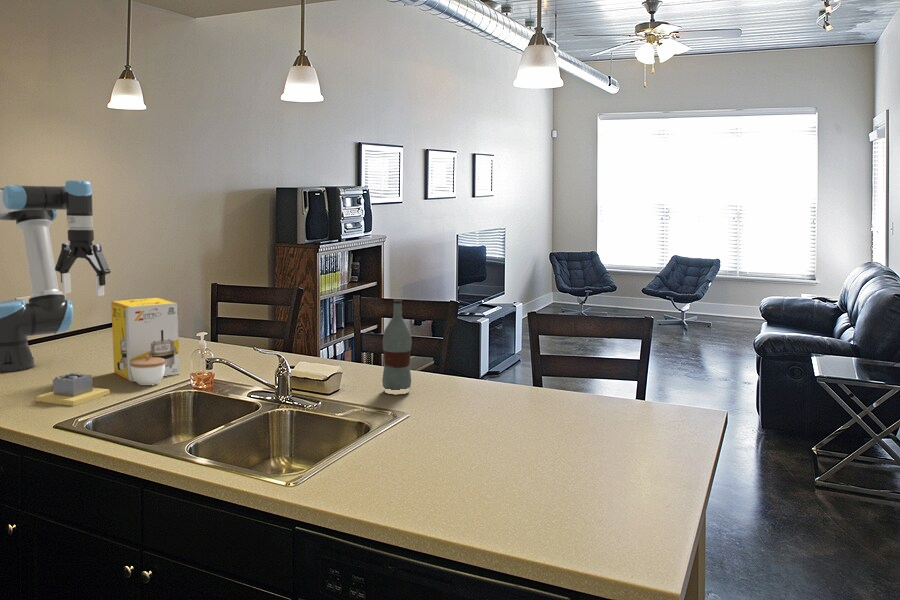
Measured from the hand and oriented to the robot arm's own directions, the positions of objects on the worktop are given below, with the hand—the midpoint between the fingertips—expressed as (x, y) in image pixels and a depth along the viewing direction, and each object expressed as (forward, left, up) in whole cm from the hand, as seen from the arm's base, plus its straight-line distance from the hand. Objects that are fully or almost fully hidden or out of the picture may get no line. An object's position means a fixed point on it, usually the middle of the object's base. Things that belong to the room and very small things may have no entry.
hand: (83, 294), depth 241 cm
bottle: (+100, +25, -29) cm, 107 cm away
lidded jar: (+21, +4, -29) cm, 36 cm away
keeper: (+12, -18, -29) cm, 36 cm away
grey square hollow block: (+12, -18, -27) cm, 35 cm away
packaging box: (+11, +15, -29) cm, 34 cm away
